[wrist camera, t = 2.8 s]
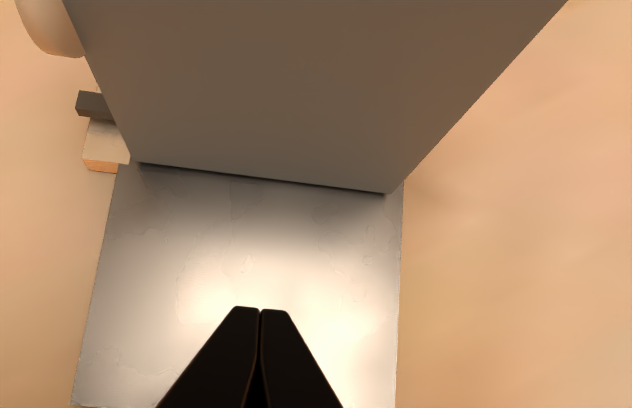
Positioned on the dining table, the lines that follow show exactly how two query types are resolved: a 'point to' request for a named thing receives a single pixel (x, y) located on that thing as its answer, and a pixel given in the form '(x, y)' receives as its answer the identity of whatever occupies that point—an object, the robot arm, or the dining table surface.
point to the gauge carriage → (287, 78)
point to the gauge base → (235, 275)
